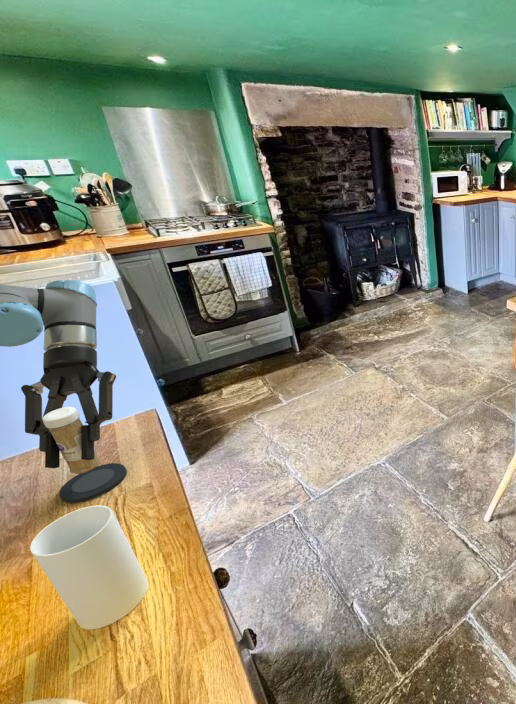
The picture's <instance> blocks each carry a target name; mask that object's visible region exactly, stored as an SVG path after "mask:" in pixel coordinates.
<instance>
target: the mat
mask: <svg viewBox="0 0 516 704" xmlns="http://www.w3.org/2000/svg"><path fill="white" fill-rule="evenodd" d="M127 474H128V470H127V468H126V466H125V465H123V464H121V463H118V462H117V463H116V462H113V463H104V464H101V465H100V464H99V465H98V466H96V467H95V468H93V469H92V470H90V471H87V472H85V473H80V474H75V476H73V477H71V478H70V479H69V480H67V482H65V483H64V484H63V485H62V487H61V488H60V489H59V491H58V496H59V498H60V500H61V501H63V502H64V503H68V504H75V503H82V502H87V501H90V500H93V499H96V498H98V497H100V496H102V495H105V494H107V493H108V492H110V491H111V490H113V489H114V488H116V487H117V486H118V485H120V484H121V483H122V482H123V481H124V479H125V478H126V477H127Z"/></svg>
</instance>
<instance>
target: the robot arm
mask: <svg viewBox="0 0 516 704" xmlns="http://www.w3.org/2000/svg"><path fill="white" fill-rule="evenodd" d="M97 307H98V303H97V296H96V291H95V288H94V286H92V285H91V284H89V283H87V282H84V281H81V280H76V279H67V280H65V279H64V280H63V279H58V280H52V281H50V282H48V283H47V284H46V285H45V288H35V287H27V286H19V285H18V286H17V285H9V284H0V347H9V348H11V347H18V346H23V345H26V344H29V343H31V342H33V341H34V340H35V339H37V338H38V337H40V335H41V333H42V332H44V336H43V350H44V352H43V357H42V358H43V361H42V365H43V366H42V368H43V375H42V376H41V377H40V380H39V381H37V382H35V383H33V384H30V385H29V384H24V385H22V386H21V387H20V390H21V392H22V394H23V395H24V433H26V434H29V435H35V436H38V437H39V439H38V440H39V445H38V450H39V451H40V452H42V453H44V468H46V469H58V468H60V459H61V458H60V454H61V452H60V450H59V448H58V446H57V444H56V441H55V439H54V438H53V436H52V434H51V432H50V430H49V429H48V428H47V427H46V426H45V424H44V422H43V420H42V419H43V417H44V416H45V415H46V414H48V413H49V412H51V411H54V410H56V409H59V408H63V407H64V403H65V402H66V401H67V398H68V396H71V395H74V394H76V395H77V397H78V400H79V404H80V406H81V410H82V412H83V416H84V418H85V421H84V423H85V424H83V426H81V459H84V460H92V459H94V447H95V442H98V441H100V439H101V425H102V423H104V422H107V421H110V420H112V419H113V405H114V404H113V401H114V400H113V399H114V398H113V396H114V395H113V393H114V392H113V391H114V390H113V389H114V388H113V385H114V383H115V381H116V379H117V375H116V374H115V373H113V372H111V371H108V370H107V371H100V370H98V351H97V350H96V349H97V348H98V347H97V346H98V344H97ZM43 330H44V331H43ZM96 381H98V382H99V383H98V409H97V406H96V402H95V399H94V397H93V391H92V387H91V386H92V385H93V384H94V383H95V382H96ZM44 388H46V389H47V390H49V391H48V394H47V403H46V406H45V407H44V408H45V409H44V411H43V397H42V394H43V393H44Z"/></svg>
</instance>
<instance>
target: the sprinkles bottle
mask: <svg viewBox="0 0 516 704" xmlns="http://www.w3.org/2000/svg"><path fill="white" fill-rule="evenodd" d="M42 418H43V419H42V420H43V422H44V424H45V426H46V427H47V428H48V429H49V430H50V432H51V434H52V436H53V438H54V439H55V441H56V444H57V446H58V448H59V450H60V454H61V456H62V458H63V459H64V461H65V463H66V464H67V466H68V468H69V472H70V473H71V474H74V475H78V474H80V473H85V472H87V471H90V470H92V469H93V468H95V467H97V466H100V464H101V462H102V459H101V457H99V455H98V453H97V450H96V448H95V446H94V459H92V460H84V459H81V426H83V425H84V424H83V422H82V420H81V416H80V414H79V412H78V410H77V408H76V407H74V406H63V407H62V408H59V409H56V410H54V411H51V412H49V413H48V414H46V415H45V416H44V417H43V416H42Z"/></svg>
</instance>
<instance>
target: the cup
mask: <svg viewBox="0 0 516 704" xmlns="http://www.w3.org/2000/svg"><path fill="white" fill-rule="evenodd" d="M126 536H127V535H126V534H125V533H124V531H123V529H122V526H121V524H120V522H119V521H118V519H117V516H116V514H115V513H114V510H112V508H110V507H109V506H108V505H101V504H100V505H99V504H98V505H89V506H86V507H81V508H79V509H76V510H73V511H71V512H69V513H67V514H65V515H62V516H61V517H59V518H57V519H56V520H54V521H52V522H51V523H49V524H47V526H45V527H44V528H43V529H41V530H40V531H39V532H38V533H37V534H36V536H35V537H34V538H33V540H32V541H31V543H30V545H29V549H30V553H31V555H32V557H33V558H34V559H35V561H36V563H37V564H38V565H39V567H40V569H41V570H42V572H43V573H44V574H45V576H46V578H47V579H48V582H50V584H51V585H52V587H53V588H54V590H55V591H56V593H57V594H58V596H59V598H60V599H61V601H62V602H63V603H64V605H65V606H66V608H67V609H68V611H69V612H70V615H72V618H74V620H75V622H76V623H77V624H78V626H79V628H81V629H84V630H88V631H89V630H98V629H101V628H104V627H107V626H110V625H112V624H114V623H116V622H118V621H119V620H121V619H122V618H124V617H125V616H127V615H128V614H130V613H131V612H132V611H133V610H134V609H135V608H136V607H137V606H138V605H139V604H140V603H141V602H142V601H143V599H144V598H145V596H146V595H147V593H148V590H149V585H150V584H149V580H148V578H147V576H146V574H145V572H144V570H143V568H142V566H141V564H140V562H139V561H138V558H137V556H136V554H135V553H134V550H133V548H132V547H131V544H130V542H129V541H128V539H127V537H126Z"/></svg>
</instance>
